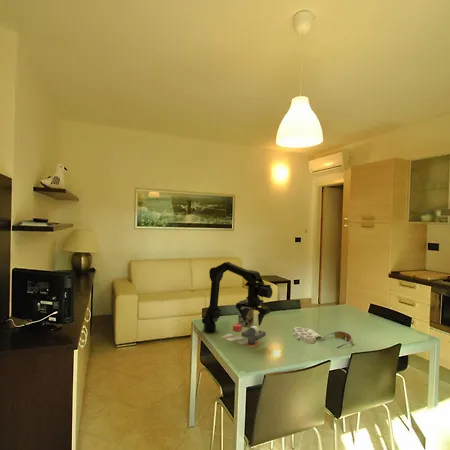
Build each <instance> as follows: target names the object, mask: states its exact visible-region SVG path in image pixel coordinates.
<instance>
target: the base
mask: <svg viewBox="0 0 450 450" xmlns="http://www.w3.org/2000/svg"><path fill="white" fill-rule="evenodd" d="M247 331H248V329H246V330H244V331H242V332H241V337H243V338H246V339H248V333H247ZM265 336H266V331H263V330H260V329H259V334H257V335H255V341H258V340H260V339H261V338H263V337H265Z"/></svg>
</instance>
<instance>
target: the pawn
mask: <svg viewBox="0 0 450 450" xmlns="http://www.w3.org/2000/svg"><path fill="white" fill-rule="evenodd" d="M250 327H251V326H250ZM250 327H248V329H247V330H248V331H247V333H248V338H247V339H248V344H249V345H254V344H255V341H256V340H255V334H256V330H255V329H254V328H252V327H251V328H250Z"/></svg>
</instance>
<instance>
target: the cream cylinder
mask: <svg viewBox="0 0 450 450" xmlns="http://www.w3.org/2000/svg"><path fill="white" fill-rule="evenodd" d="M251 327H252V328H254V329H255V330H256V334H255V335H257V334H259V330H260V329H259V328H258V326H256V325H253V326H250V327H249V328H251Z"/></svg>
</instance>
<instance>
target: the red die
mask: <svg viewBox="0 0 450 450" xmlns="http://www.w3.org/2000/svg"><path fill="white" fill-rule="evenodd" d="M242 330H243V326H242V325H239V324H238V323H235V324H234V325H232V331H233V332H238V333H240V332H241V331H242Z"/></svg>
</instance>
